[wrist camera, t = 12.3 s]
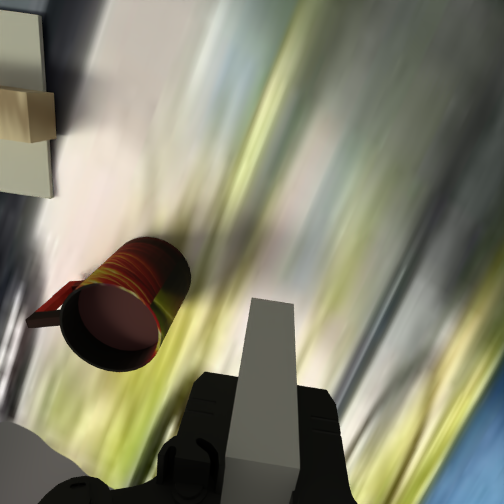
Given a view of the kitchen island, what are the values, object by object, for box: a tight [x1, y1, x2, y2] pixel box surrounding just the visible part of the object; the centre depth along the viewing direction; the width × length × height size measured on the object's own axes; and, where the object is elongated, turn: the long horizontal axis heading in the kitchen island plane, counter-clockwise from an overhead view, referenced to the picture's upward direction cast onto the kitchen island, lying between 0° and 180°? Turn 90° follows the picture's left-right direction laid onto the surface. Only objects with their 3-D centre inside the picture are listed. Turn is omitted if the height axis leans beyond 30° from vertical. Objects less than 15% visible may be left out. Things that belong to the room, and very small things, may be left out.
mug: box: [26, 237, 191, 372], centre depth 42 cm, size 10×14×12 cm
